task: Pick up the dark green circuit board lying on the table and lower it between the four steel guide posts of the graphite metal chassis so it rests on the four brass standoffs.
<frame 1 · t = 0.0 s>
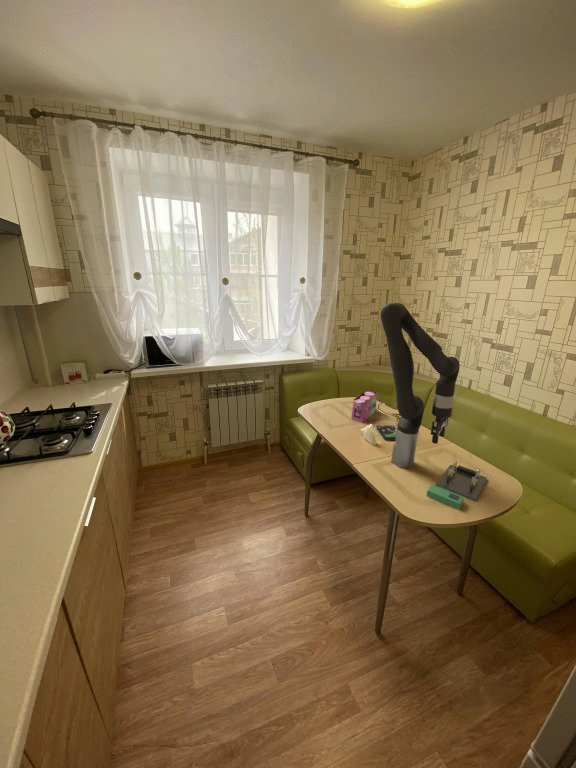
hand: (437, 439, 136), 17 cm above the table, tool pointing down, fingers open, 8 cm apart
board: (444, 499, 125), on the table
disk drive: (389, 435, 179), on the table
pink multipack of cans: (363, 415, 204), on the table
chassis: (461, 482, 136), on the table
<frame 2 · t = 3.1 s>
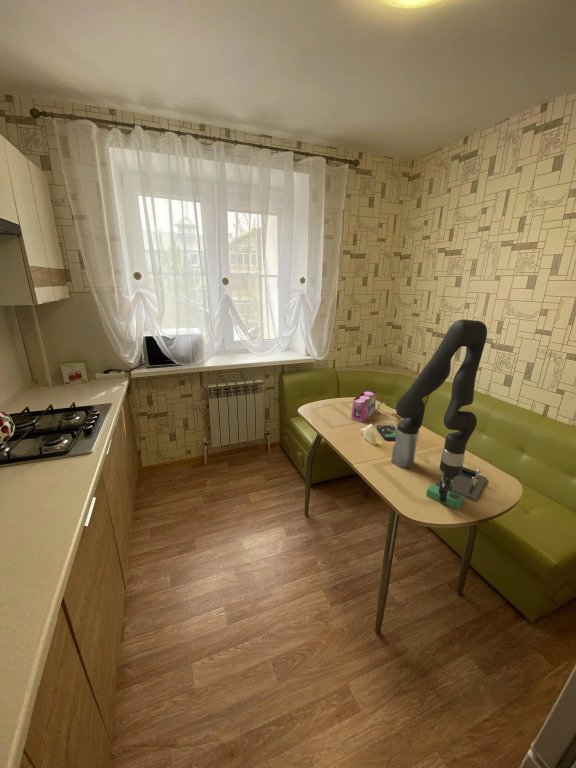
hand: (444, 497, 125), 1 cm above the table, tool pointing down, fingers closed on board, 5 cm apart
board: (444, 499, 125), on the table, touching gripper
everything else where it was.
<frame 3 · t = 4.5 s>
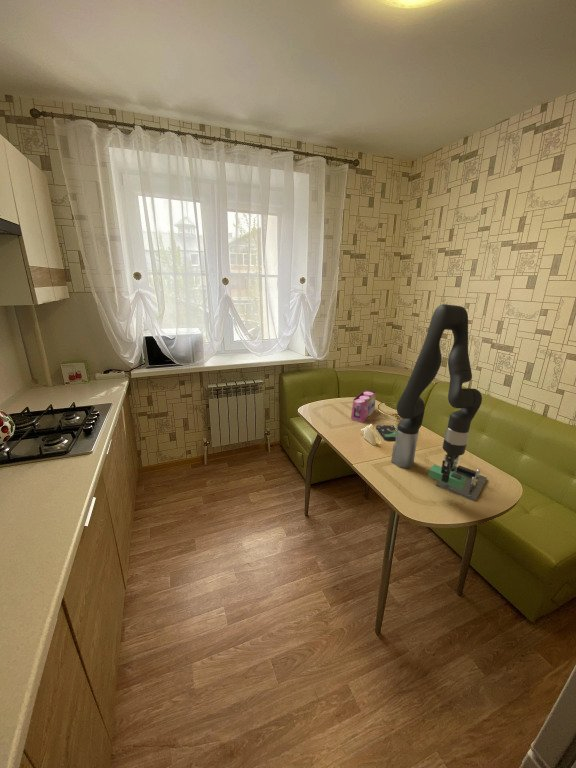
hand: (447, 478, 122), 10 cm above the table, tool pointing down, fingers closed on board, 5 cm apart
board: (446, 479, 123), point 9 cm above the table, touching gripper
everything else where it was.
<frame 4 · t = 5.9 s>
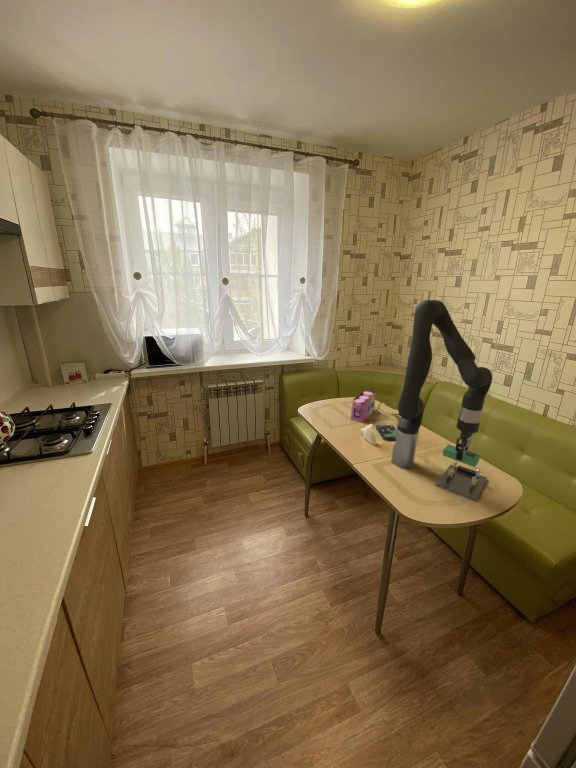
hand: (461, 456, 127), 15 cm above the table, tool pointing down, fingers closed on board, 5 cm apart
board: (460, 458, 127), point 15 cm above the table, touching gripper
everything else where it was.
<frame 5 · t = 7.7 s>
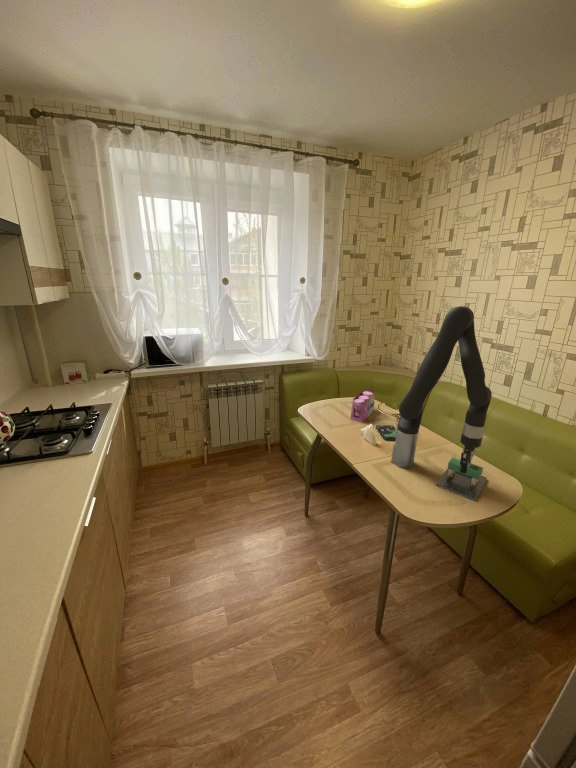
hand: (464, 469, 134), 6 cm above the table, tool pointing down, fingers closed on board, 5 cm apart
board: (464, 471, 134), point 6 cm above the table, touching gripper
everything else where it was.
when the fingers open (5 cm above the table, at t = 9.0 s): board drops 1 cm, resting on chassis.
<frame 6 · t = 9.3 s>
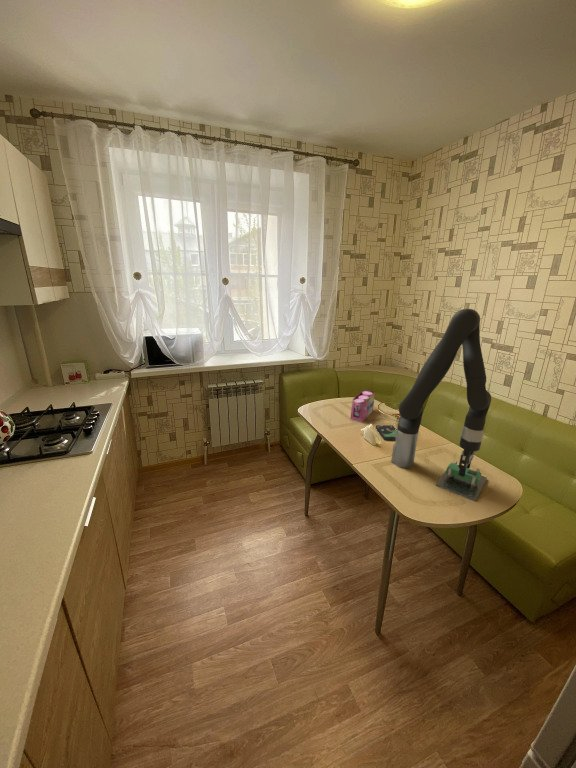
hand: (464, 471, 134), 5 cm above the table, tool pointing down, fingers open, 8 cm apart
board: (462, 476, 135), point 3 cm above the table, touching chassis
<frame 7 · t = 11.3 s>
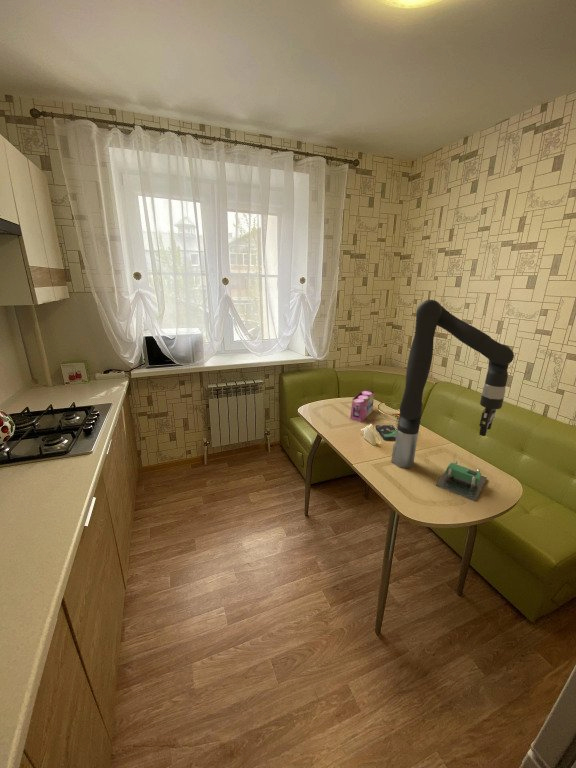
hand: (484, 432, 130), 23 cm above the table, tool pointing down, fingers open, 8 cm apart
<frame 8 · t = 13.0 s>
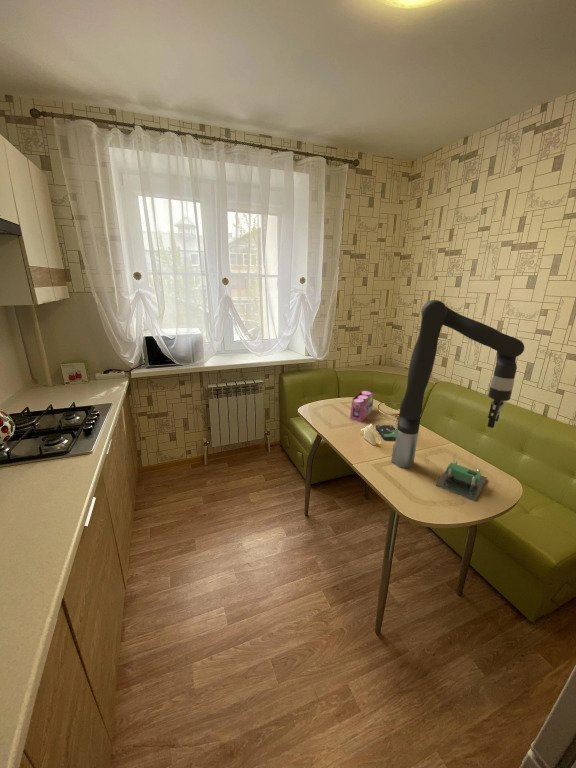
hand: (492, 423, 132), 26 cm above the table, tool pointing down, fingers open, 8 cm apart
at the end: board 0.1 cm off-centre on the chassis, point 3.0 cm above the chassis's base; board tilted 0°; the gripper is holding nothing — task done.
